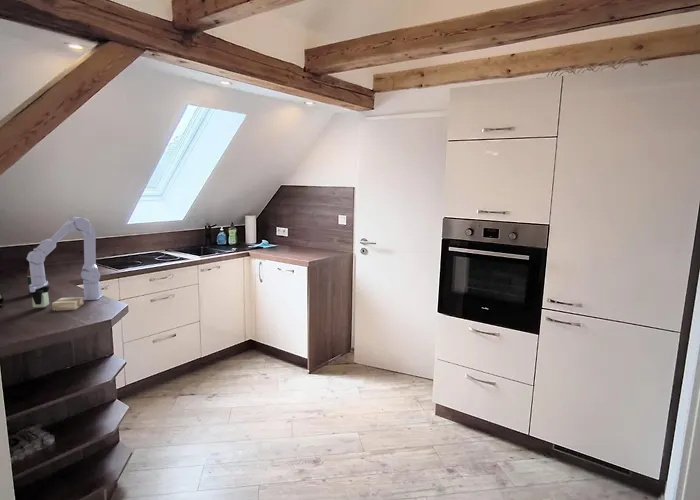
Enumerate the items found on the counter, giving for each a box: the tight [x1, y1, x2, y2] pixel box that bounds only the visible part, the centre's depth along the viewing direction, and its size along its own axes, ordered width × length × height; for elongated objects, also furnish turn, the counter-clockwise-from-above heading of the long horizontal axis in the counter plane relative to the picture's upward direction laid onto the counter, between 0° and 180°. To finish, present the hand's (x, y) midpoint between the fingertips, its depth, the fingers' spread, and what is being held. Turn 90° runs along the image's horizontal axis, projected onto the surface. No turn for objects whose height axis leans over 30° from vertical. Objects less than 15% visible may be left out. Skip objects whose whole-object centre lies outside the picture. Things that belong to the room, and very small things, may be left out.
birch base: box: [51, 296, 85, 312], centre depth 217 cm, size 10×10×4 cm
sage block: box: [31, 291, 50, 308], centre depth 214 cm, size 5×5×6 cm
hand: (41, 302), depth 214 cm, fingers closed on sage block, 5 cm apart
